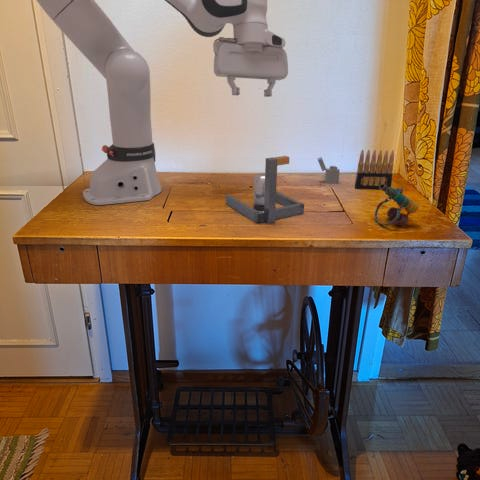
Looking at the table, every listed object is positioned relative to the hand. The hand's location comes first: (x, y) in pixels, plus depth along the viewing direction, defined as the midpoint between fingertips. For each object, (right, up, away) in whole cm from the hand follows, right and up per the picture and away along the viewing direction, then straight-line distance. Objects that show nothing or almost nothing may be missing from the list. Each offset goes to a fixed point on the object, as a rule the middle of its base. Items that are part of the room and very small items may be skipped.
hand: (252, 95), depth 115 cm
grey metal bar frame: (+4, -30, +2) cm, 30 cm away
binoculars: (+35, -34, -5) cm, 49 cm away
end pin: (+3, -29, +4) cm, 29 cm away
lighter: (+25, -20, +26) cm, 41 cm away
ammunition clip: (+38, -22, +20) cm, 48 cm away
